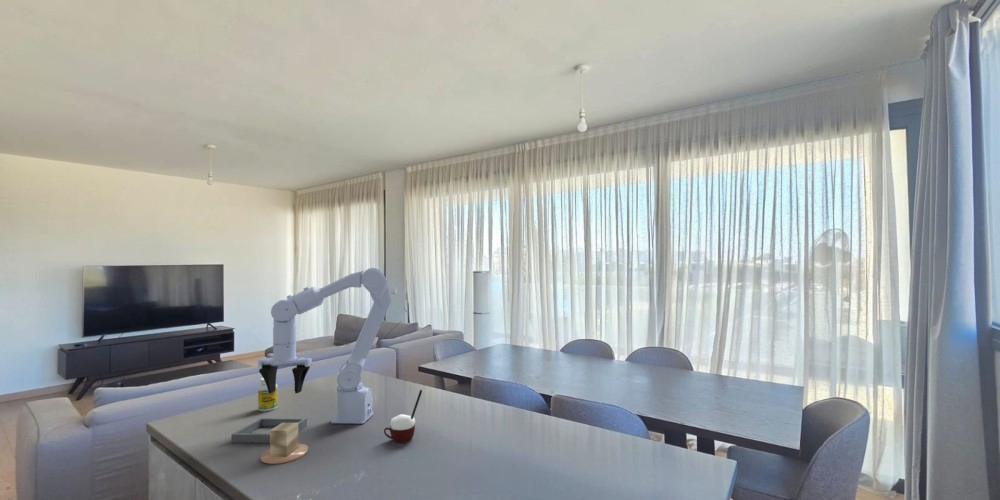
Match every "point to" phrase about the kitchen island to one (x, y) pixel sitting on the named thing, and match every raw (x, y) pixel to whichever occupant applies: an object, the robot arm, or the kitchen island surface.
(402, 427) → the cocoa
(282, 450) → the block
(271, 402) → the supplement bottle
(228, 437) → the kitchen island surface
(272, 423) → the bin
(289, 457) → the saucer
